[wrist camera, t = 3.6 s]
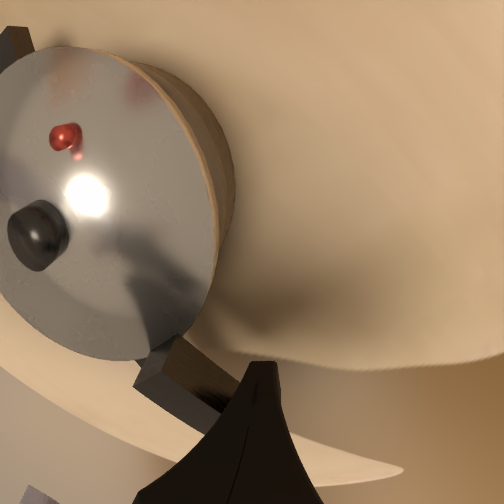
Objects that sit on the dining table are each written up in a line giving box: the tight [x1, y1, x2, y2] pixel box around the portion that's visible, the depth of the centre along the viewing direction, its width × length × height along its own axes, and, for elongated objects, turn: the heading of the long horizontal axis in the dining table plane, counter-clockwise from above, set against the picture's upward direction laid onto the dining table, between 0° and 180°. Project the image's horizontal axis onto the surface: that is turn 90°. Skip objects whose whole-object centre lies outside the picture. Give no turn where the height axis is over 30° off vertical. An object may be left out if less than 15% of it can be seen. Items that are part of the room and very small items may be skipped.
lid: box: [0, 46, 240, 435], centre depth 10 cm, size 14×19×3 cm
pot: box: [0, 26, 235, 368], centre depth 13 cm, size 13×22×4 cm, turn 8°
